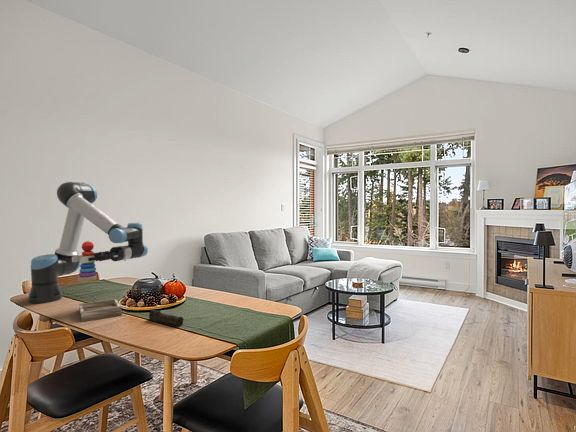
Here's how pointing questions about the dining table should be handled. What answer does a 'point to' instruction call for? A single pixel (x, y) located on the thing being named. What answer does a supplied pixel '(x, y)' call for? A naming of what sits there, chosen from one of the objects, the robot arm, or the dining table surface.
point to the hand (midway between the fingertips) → (76, 259)
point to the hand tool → (165, 318)
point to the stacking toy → (87, 264)
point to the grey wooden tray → (99, 310)
